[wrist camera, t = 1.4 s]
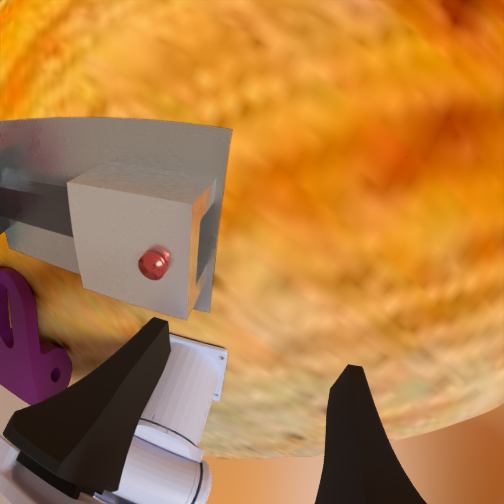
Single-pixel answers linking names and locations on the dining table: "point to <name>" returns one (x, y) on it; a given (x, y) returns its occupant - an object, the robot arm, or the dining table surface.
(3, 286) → the mounting bracket
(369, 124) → the dining table surface
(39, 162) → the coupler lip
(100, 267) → the block
